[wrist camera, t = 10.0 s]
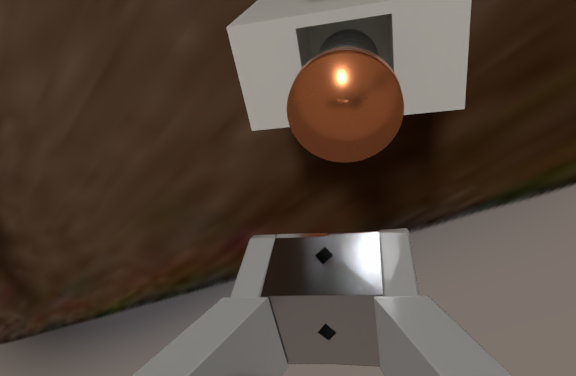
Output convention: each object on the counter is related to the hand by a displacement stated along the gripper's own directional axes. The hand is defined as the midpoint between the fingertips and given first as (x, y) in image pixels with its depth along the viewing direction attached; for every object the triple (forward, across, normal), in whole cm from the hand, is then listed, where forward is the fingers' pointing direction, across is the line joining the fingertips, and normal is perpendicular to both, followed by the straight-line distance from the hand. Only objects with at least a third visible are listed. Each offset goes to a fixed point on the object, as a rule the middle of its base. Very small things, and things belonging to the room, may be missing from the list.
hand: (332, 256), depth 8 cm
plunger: (+13, 0, 0) cm, 13 cm away
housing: (+21, 0, 0) cm, 21 cm away
